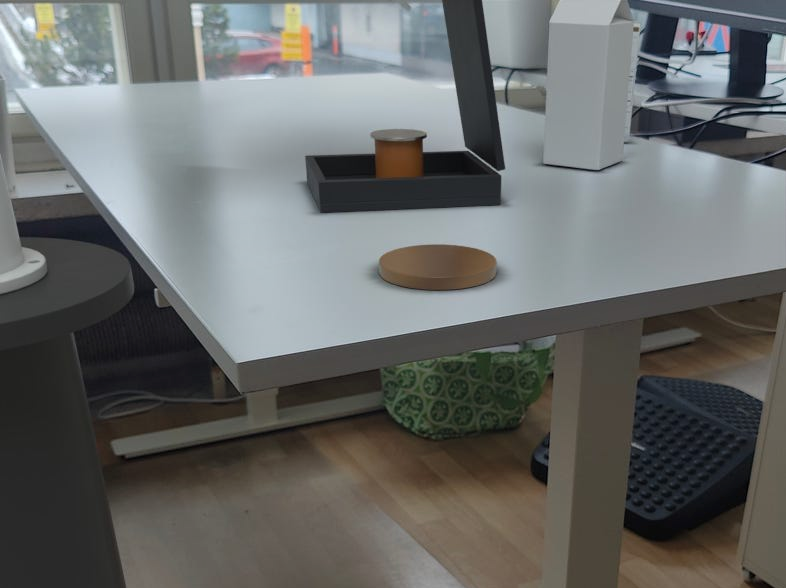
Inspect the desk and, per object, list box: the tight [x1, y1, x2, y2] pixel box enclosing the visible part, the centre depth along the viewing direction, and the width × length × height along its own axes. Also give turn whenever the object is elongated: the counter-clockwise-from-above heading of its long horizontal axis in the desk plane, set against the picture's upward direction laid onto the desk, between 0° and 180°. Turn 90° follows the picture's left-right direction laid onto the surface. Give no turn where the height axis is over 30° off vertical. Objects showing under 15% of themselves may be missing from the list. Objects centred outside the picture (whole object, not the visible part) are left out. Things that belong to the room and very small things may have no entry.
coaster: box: [378, 243, 498, 291], centre depth 73 cm, size 9×9×1 cm
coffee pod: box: [369, 128, 428, 178], centre depth 96 cm, size 6×6×5 cm
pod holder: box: [304, 150, 502, 213], centre depth 97 cm, size 18×14×3 cm
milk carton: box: [542, 0, 635, 171], centre depth 108 cm, size 7×7×19 cm
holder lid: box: [441, 0, 506, 172], centre depth 93 cm, size 18×14×1 cm
